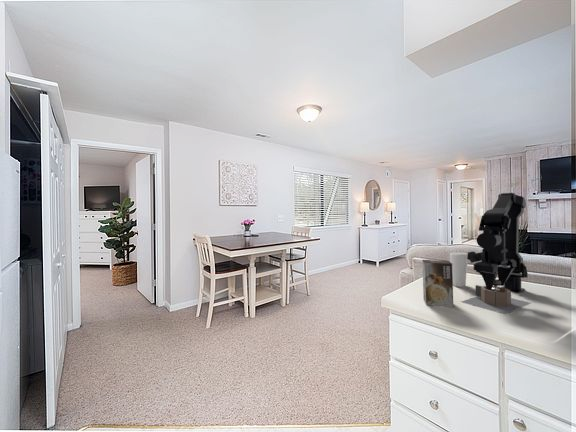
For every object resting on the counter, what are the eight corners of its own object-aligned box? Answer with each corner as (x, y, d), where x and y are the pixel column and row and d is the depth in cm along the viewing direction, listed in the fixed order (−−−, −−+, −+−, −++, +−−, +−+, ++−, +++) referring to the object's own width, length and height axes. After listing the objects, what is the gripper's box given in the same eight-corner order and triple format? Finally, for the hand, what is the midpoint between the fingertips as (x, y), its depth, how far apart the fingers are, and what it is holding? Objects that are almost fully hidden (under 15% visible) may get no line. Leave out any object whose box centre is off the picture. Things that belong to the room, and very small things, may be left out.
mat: (487, 293, 108) (487, 292, 108) (531, 303, 96) (531, 302, 96) (460, 302, 98) (460, 301, 98) (505, 315, 86) (505, 314, 86)
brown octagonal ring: (481, 295, 105) (481, 283, 105) (514, 303, 95) (514, 290, 95) (470, 299, 101) (470, 286, 101) (503, 307, 91) (503, 293, 91)
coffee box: (449, 301, 100) (449, 260, 99) (453, 307, 94) (453, 263, 93) (422, 299, 103) (422, 259, 102) (425, 305, 97) (424, 262, 96)
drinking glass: (470, 288, 115) (470, 254, 115) (453, 287, 116) (453, 254, 116) (463, 284, 122) (463, 252, 121) (447, 283, 123) (447, 252, 123)
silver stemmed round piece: (491, 298, 100) (490, 277, 100) (507, 302, 96) (507, 280, 96) (484, 300, 98) (483, 279, 98) (500, 305, 93) (500, 282, 93)
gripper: (483, 241, 108) (483, 279, 108) (458, 245, 99) (458, 286, 100) (517, 244, 98) (517, 285, 99) (492, 249, 89) (492, 294, 90)
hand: (495, 287), depth 97 cm, fingers open, 9 cm apart
